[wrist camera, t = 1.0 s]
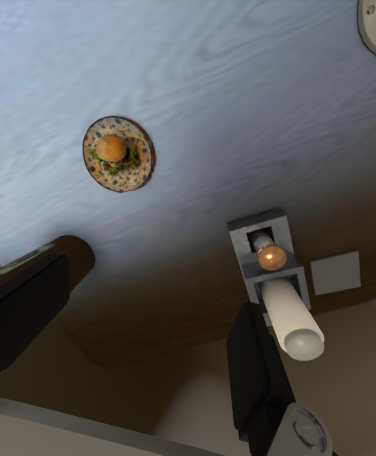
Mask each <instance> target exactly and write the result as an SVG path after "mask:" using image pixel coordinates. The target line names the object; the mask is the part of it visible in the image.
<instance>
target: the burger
mask: <svg viewBox="0 0 376 456" xmlns="http://www.w3.org/2000/svg"><path fill="white" fill-rule="evenodd" d="M83 158H84V163H85V165H86V167H87V170H88V172H89V173H90V174H91V176H92V177H93V178H94V179H95V180H96V181H97V182H98V183H99V184H100V185H102V186H103V187H105V188H107V189H109V190H112V191H115V192H119V193H122V192H127V191H132V190H136V189H138V188H141V187H143V186H144V185H145V184H146V182H147V181H148V180H149V178H150V177H151V175H150V174H151V173H152V172H154V171H153V165H154V159H155V150H154V147H153V143H152V142H151V140H150V138H149V136H148V135H147V134H146V132H145V131H144V129H142V127H140V126H139V125H138V124H137V123H135V122H133V121H132V120H129V119H127V118H124V117H118V116H107V117H104V118H101V119H99V120H97V121H96V122H94V123H93V124H92V125H91V126H90V127H89V128H88V130H87V133H86V135H85V137H84V140H83Z"/></svg>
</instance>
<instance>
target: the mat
mask: <svg viewBox="0 0 376 456" xmlns="http://www.w3.org/2000/svg"><path fill="white" fill-rule="evenodd" d="M309 265H310V271H311V277H312V283H313V289H314V294H315V295H320V294H325V293H330V292H335V291H340V290H345V289H350V288H355V287H360V286H361V284H360V269H359V253H358V251H357V250H352V251H348V252H343V253H339V254H335V255H331V256H326V257H322V258H318V259H313V260H309Z"/></svg>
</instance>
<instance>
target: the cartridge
mask: <svg viewBox="0 0 376 456" xmlns="http://www.w3.org/2000/svg"><path fill="white" fill-rule="evenodd" d="M257 284H258V287H259V290H260V292H261V295H262V298H263V300H264V303H265V306H266V309H267V311H268V314H269V317H270V319H271V322H272V325H273V327H274V330H275V332H276V335H277V338H278V341H279V343H280V346H281V348H282V349H283V350H284V351H286V352H287V353H288V354H289V355H290V356H291V357H292V358H294V359H296V360H303V361H306V360H312V359H315V358H317V357H318V356H320V355H321V354H322V353H323V351H324V344H323V342H324V336H323V334H322V332H321V330H320V329H319V327H318V326H317V324H316V323H315V321H314V319H313V318H312V316H311V314H310V313H309V311H308V310H307V308H306V306H305V305H304V303H303V302H302V300H301V299H300V297H299V295H298V294H297V292H296V291H295V289H294V287H293V286H292V284H291V283H290V281H289V279H288V278H287V276H283V277H278V278H274V279H269V280H265V281H260V282H257Z"/></svg>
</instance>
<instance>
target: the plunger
mask: <svg viewBox="0 0 376 456" xmlns="http://www.w3.org/2000/svg"><path fill="white" fill-rule="evenodd" d="M250 238H251V241H252V243H253V245H254V247H255V249H256V251H257V253H258V254H257V259H258V262H259V264H260V266H261V267H262V268H264V269H266V270H270V271H272V270H277V269H279V268H281V267H282V266H283V265H284V264H285V262H286V259H287V256H286V253H285V252H284V251H283V249H282V248H281V247H280V246H278V245H276V244H275V243H274V242H273V241H272V239H271V238H270V236H269V235H268V234H267V232H266V231H265V230H264V229H263V228H262V229H258V230H254V231H251V233H250Z"/></svg>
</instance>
